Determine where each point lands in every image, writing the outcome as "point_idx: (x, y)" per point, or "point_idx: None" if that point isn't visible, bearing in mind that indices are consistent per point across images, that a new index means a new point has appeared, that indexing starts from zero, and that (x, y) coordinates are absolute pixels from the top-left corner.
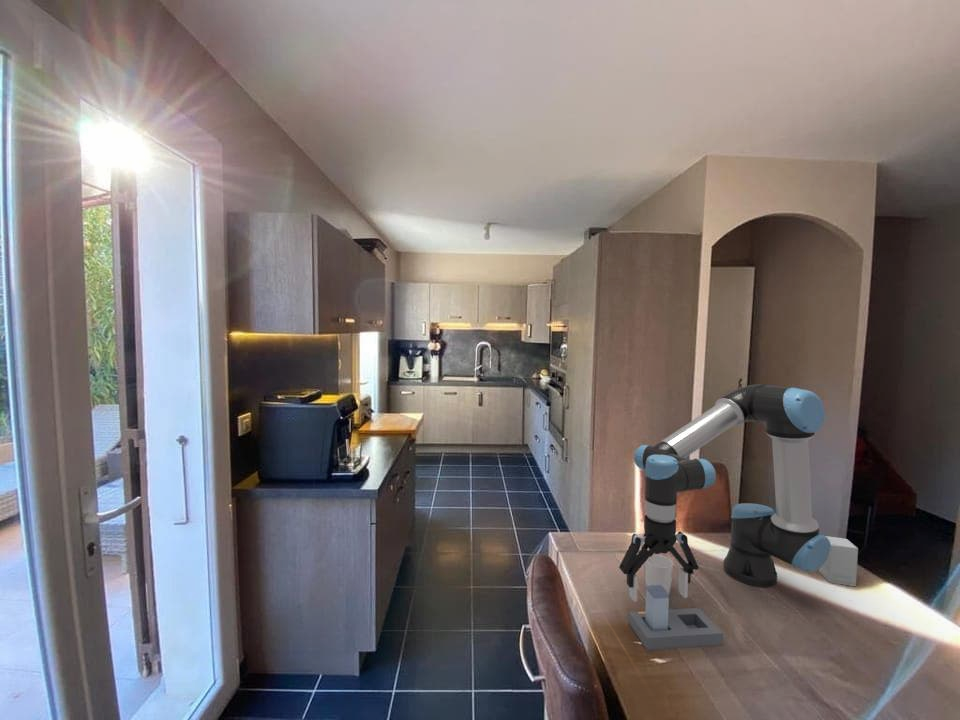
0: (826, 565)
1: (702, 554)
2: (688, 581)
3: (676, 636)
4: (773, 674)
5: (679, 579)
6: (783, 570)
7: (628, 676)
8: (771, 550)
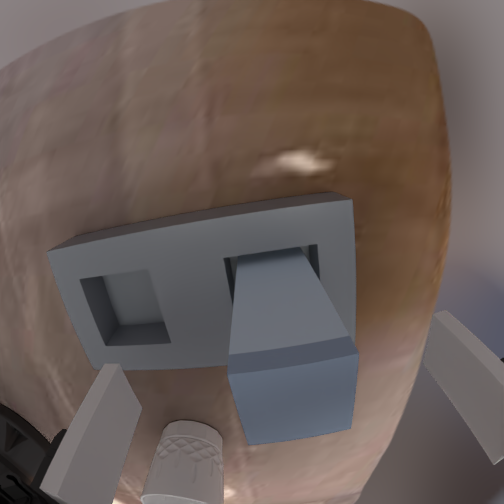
0: None
1: None
2: (63, 440)
3: (217, 217)
4: (8, 156)
5: (120, 464)
6: None
7: (413, 103)
8: None
